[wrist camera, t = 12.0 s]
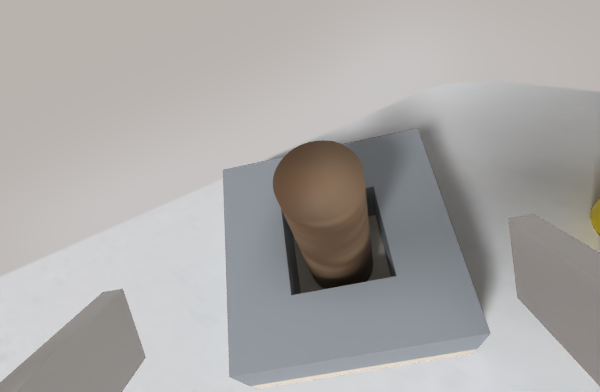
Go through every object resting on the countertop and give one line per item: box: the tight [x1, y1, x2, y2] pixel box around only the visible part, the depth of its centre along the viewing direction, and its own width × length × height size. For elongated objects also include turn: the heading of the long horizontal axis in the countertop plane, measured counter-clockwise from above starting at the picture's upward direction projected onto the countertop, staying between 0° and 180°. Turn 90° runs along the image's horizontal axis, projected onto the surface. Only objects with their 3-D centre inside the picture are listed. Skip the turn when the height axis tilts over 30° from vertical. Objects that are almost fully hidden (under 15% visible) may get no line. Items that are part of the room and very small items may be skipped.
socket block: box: [223, 128, 490, 389], centre depth 29 cm, size 14×14×6 cm
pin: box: [273, 141, 373, 289], centre depth 25 cm, size 4×4×11 cm
